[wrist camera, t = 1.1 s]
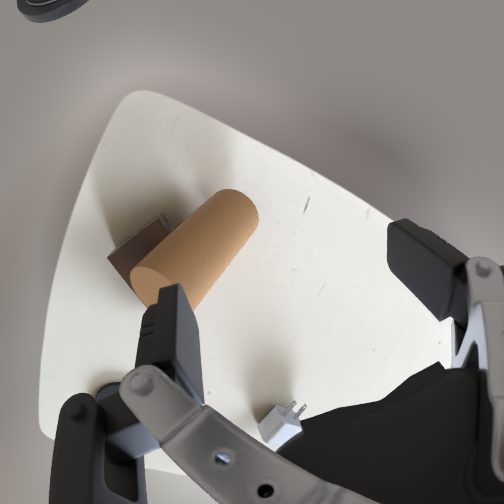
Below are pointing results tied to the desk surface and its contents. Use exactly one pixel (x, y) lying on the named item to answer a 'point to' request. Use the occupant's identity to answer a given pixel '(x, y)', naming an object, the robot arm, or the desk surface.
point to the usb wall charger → (280, 424)
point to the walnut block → (138, 247)
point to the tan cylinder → (197, 248)
